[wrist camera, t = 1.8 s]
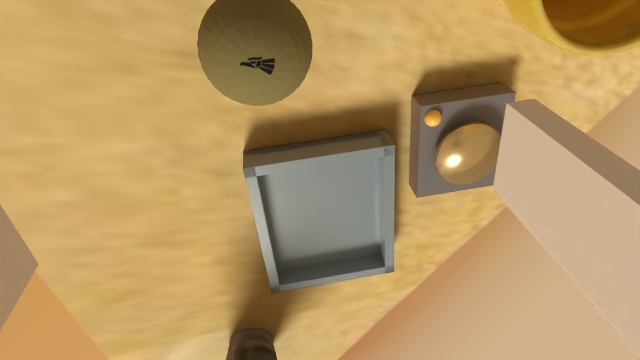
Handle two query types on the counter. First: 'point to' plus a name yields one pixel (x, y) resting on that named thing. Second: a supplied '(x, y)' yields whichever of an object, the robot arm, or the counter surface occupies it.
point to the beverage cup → (251, 346)
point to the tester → (441, 117)
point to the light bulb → (255, 49)
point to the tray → (324, 208)
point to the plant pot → (581, 24)
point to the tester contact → (467, 152)
